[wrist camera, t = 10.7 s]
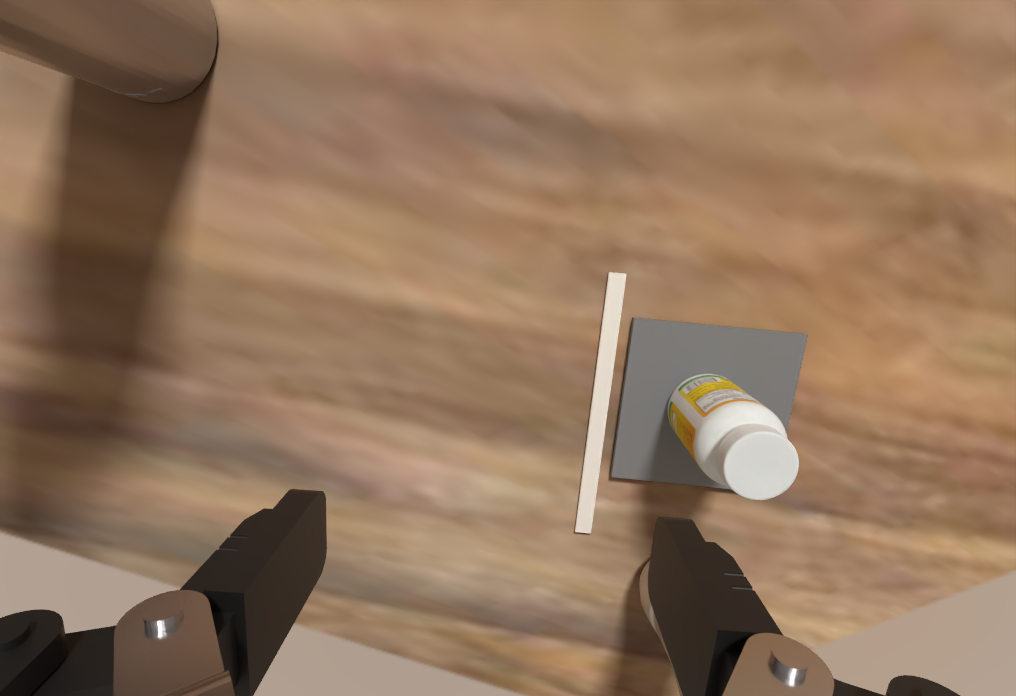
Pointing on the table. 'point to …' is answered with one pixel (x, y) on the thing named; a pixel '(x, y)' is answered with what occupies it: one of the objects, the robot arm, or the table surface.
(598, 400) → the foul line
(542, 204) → the table surface
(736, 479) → the supplement bottle
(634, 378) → the mat
